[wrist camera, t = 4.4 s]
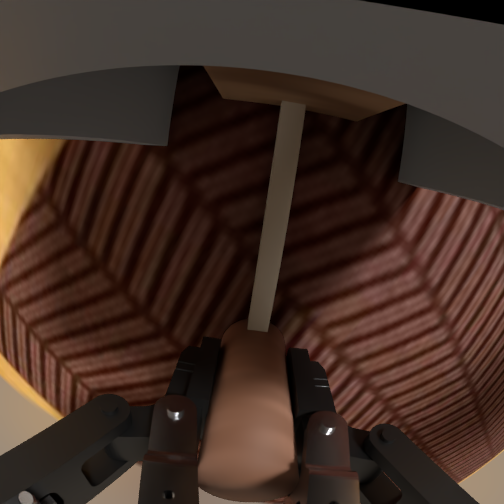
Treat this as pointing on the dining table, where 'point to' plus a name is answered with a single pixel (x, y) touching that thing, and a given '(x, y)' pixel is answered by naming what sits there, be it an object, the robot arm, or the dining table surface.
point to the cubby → (269, 59)
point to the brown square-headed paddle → (266, 304)
